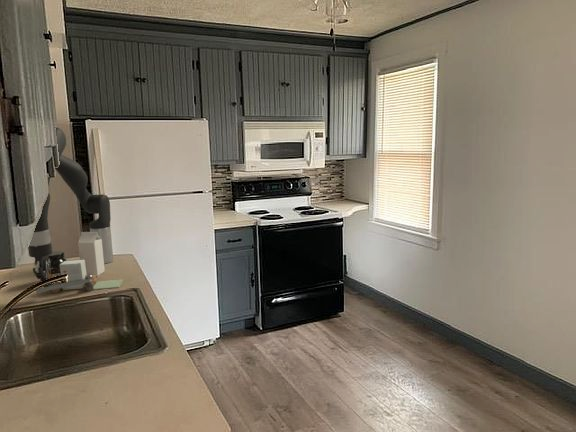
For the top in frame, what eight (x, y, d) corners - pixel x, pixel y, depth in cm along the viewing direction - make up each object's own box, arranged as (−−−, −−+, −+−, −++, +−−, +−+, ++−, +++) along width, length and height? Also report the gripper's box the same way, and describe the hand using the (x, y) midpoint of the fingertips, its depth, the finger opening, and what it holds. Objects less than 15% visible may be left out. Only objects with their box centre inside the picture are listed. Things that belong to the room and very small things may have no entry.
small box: (88, 284, 175) (85, 259, 174) (83, 288, 170) (80, 262, 168) (67, 285, 174) (64, 260, 172) (62, 290, 169) (59, 264, 167)
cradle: (61, 283, 177) (60, 275, 177) (100, 280, 180) (100, 272, 180) (50, 295, 163) (49, 286, 162) (92, 291, 166) (91, 282, 166)
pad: (97, 282, 177) (97, 281, 177) (122, 280, 179) (122, 279, 179) (91, 290, 168) (91, 289, 168) (118, 287, 170) (118, 286, 170)
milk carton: (97, 276, 186) (93, 233, 183) (81, 276, 186) (76, 233, 184) (104, 271, 193) (100, 230, 190) (89, 272, 194) (85, 230, 191)
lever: (35, 291, 157) (35, 284, 156) (92, 280, 168) (91, 273, 168) (37, 293, 155) (36, 286, 154) (93, 281, 166) (93, 275, 166)
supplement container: (39, 286, 174) (36, 257, 172) (41, 279, 184) (38, 252, 182) (68, 282, 179) (65, 254, 177) (69, 276, 188) (66, 249, 186)
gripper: (34, 239, 162) (40, 283, 165) (21, 247, 149) (27, 294, 152) (56, 237, 164) (61, 281, 167) (44, 245, 151) (50, 292, 154)
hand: (45, 287), depth 160 cm, fingers closed
